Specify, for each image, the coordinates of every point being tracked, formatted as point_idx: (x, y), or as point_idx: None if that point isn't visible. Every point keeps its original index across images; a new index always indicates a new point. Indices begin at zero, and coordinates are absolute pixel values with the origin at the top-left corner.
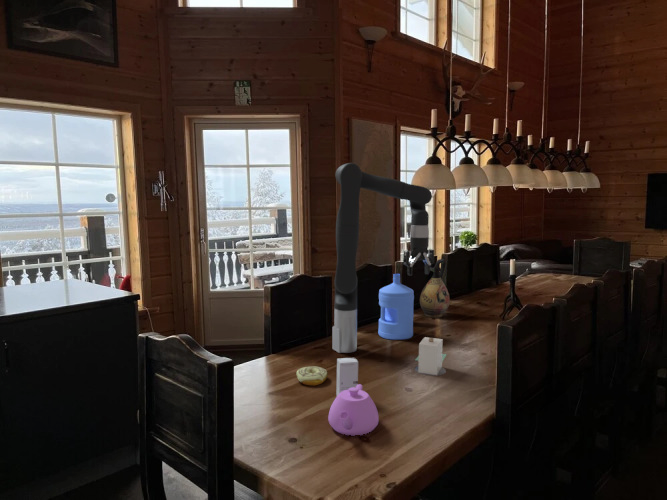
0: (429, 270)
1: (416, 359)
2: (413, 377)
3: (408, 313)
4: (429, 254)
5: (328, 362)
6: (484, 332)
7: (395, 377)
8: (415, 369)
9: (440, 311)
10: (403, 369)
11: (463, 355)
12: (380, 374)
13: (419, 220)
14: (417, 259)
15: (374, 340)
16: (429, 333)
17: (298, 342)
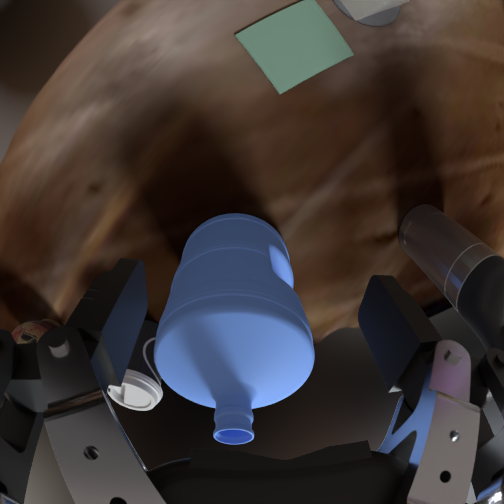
0: (94, 289)
1: (346, 55)
2: (418, 4)
3: (225, 252)
4: (6, 502)
5: (483, 184)
6: (10, 170)
7: (446, 32)
8: (394, 18)
9: (41, 322)
10: (410, 42)
11: (191, 15)
12: (459, 63)
13: None
14: (378, 463)
15: (318, 252)
16: (131, 228)
17: (437, 311)
